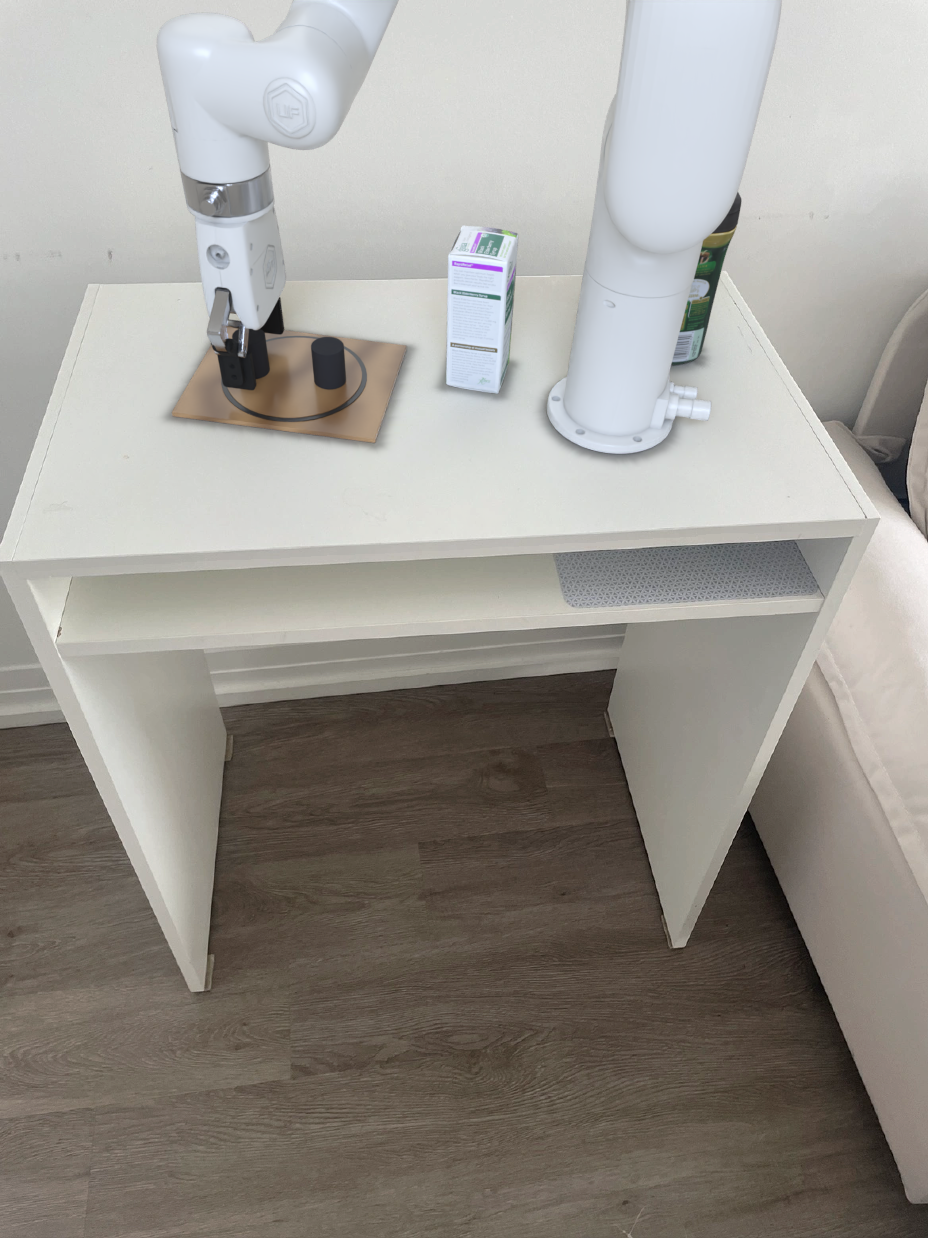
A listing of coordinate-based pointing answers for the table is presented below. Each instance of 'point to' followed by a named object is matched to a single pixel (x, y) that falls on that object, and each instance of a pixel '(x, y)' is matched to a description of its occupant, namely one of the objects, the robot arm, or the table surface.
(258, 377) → the black cylinder
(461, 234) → the syrup box
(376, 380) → the sketch board
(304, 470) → the table surface
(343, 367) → the black cylindrical block
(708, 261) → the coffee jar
